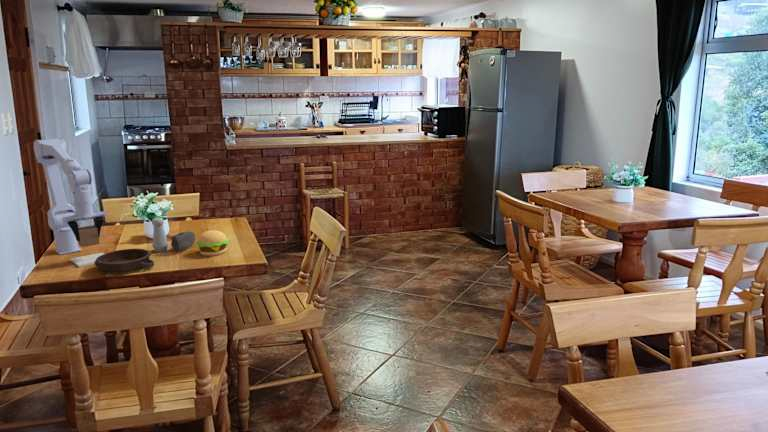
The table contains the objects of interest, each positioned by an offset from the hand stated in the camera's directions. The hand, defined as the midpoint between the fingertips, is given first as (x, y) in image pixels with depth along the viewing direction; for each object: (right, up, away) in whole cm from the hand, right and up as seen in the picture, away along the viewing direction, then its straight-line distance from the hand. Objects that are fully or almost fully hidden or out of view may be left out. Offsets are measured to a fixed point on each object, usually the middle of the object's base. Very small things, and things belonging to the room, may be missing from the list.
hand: (88, 238), depth 214 cm
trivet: (0, -8, +2) cm, 8 cm away
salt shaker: (+22, -5, +13) cm, 26 cm away
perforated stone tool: (+31, -5, +15) cm, 35 cm away
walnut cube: (0, -2, +1) cm, 2 cm away
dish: (+17, -11, -7) cm, 21 cm away
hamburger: (+44, -6, +9) cm, 45 cm away
